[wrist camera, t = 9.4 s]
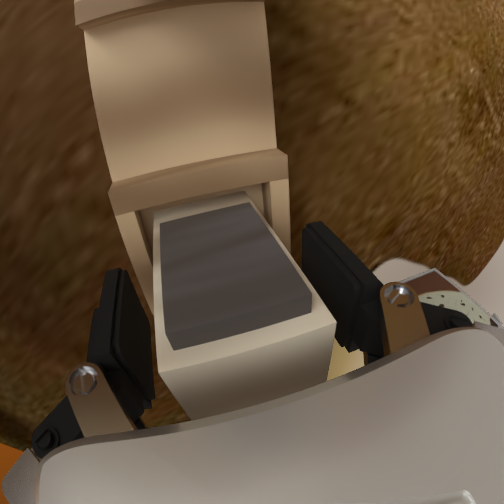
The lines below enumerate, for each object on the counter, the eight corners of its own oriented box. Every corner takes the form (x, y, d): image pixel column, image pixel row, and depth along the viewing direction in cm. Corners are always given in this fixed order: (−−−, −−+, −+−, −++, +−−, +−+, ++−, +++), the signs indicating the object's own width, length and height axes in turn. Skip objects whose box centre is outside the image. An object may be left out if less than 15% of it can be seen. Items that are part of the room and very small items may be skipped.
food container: (336, 345, 26) (387, 429, 18) (346, 299, 23) (415, 395, 15) (427, 307, 29) (479, 368, 21) (443, 264, 25) (508, 326, 17)
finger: (150, 199, 12) (148, 356, 5) (242, 177, 12) (339, 303, 6) (176, 283, 14) (203, 435, 8) (253, 263, 15) (322, 399, 8)
